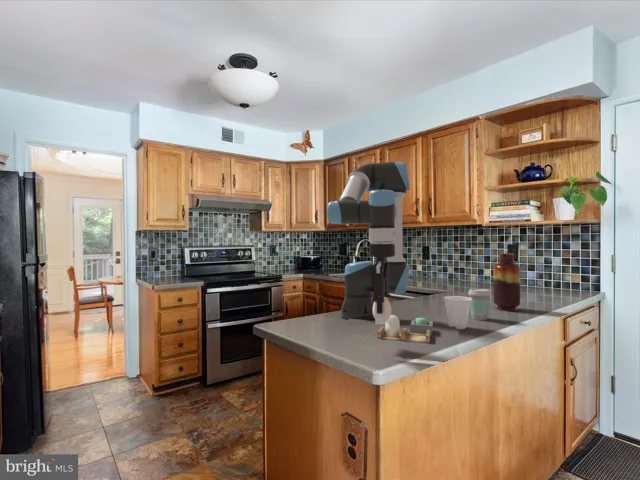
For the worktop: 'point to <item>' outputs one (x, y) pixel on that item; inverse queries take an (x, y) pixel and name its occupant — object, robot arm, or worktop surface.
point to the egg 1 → (387, 309)
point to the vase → (507, 283)
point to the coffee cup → (479, 303)
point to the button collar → (421, 327)
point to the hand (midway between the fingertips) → (381, 321)
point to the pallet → (405, 336)
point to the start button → (422, 321)
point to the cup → (457, 311)
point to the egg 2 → (392, 327)
